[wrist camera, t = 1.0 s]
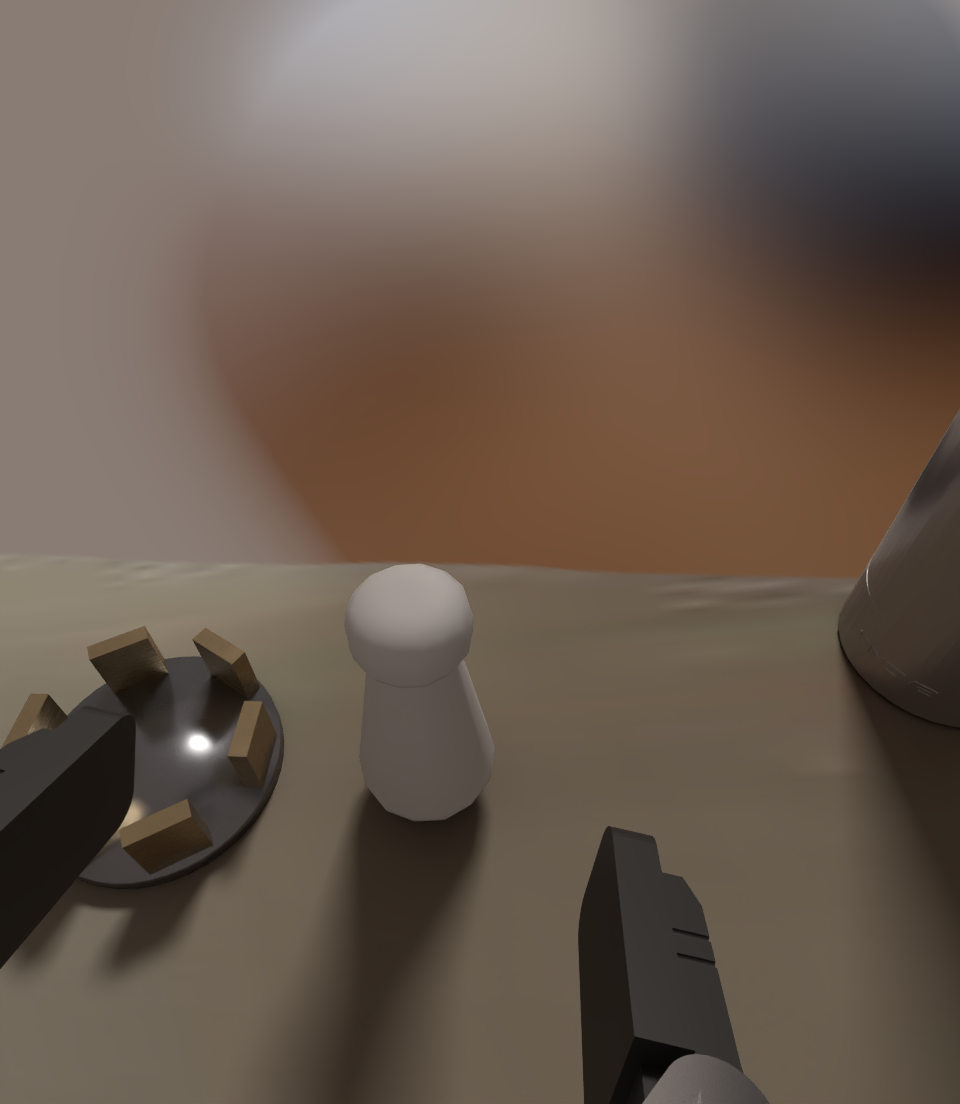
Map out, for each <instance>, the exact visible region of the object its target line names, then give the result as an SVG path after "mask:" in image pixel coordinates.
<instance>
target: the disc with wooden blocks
mask: <svg viewBox="0 0 960 1104" xmlns="http://www.w3.org/2000/svg"><path fill="white" fill-rule="evenodd" d="M192 640H193V641H194V643H195V645H196V647H197V649H198V651H199V653H200V655H201V657H178V658H170V659H164V658H163V656H162V654H161V652H160V651H159V649H158V647H157V646H156V644H155V642H154V641H153V639H152V637H151V636H150V634H149V632H148V631H147V629H146V627H145V626H143V627H141V628H138V629H135V630H132V631H130V632H127V633H124V634H121V635H119V636H116V637H113V638H111V639H108V640H105V641H102V642H100V643H97V644H94V645H91V646H89V647H87V649H88V654H89V660H90V661H91V663H92V664H93V665H94V667H95V668H96V669H97V671H98V672H99V673H100V675H101V676H102V678H103V679H104V680H105V682H106V684H104V685H103V686H101V687H100V688H98V689H97V690H95V691H94V692H93V693H92V694H90V695H89V696H88V697H87V698H85V699H84V700H83V701H82V702H81V703H80V704H79V705H78V706H77V707H75V708H74V709H73V710H72V711H71V712H70V713H69V715H68V716H67V715H66V714H65V713H64V712H63V711H62V710H61V708H60V707H59V706H58V705H57V704H56V703H55V701H54V700H53V699H52V698H51V697H50V696H49V695H48V694H30V696H29V698H28V699H27V701H26V703H25V705H24V707H23V709H22V711H21V712H20V714H19V716H18V718H17V720H16V722H15V723H14V725H13V727H12V729H11V731H10V733H9V735H8V736H7V738H6V740H5V742H4V744H3V746H2V747H1V748H3V747H4V746H5V745H7V744H8V743H10V742H13V741H15V740H17V739H19V738H22V737H24V736H26V735H29V734H31V733H33V732H35V731H38V730H40V729H42V728H44V729H49V730H54V729H56V728H57V727H58V726H59V725H60V724H62V723H63V722H64V721H65V720H66V719H68V718H69V717H70V716H71V715H72V714H74V713H75V712H76V711H77V710H79V709H80V708H81V707H84V706H93V707H97V708H102V709H106V710H110V711H115V712H119V713H123V714H128V715H131V716H133V718H134V719H135V722H136V743H135V772H134V793H133V798H132V802H131V805H130V808H129V810H128V813H127V815H126V817H125V819H124V821H123V823H122V824H121V826H120V827H119V829H118V830H117V831H116V832H115V834H114V835H113V836H112V837H111V838H110V839H109V841H108V842H107V843H106V844H105V845H104V847H103V848H102V849H101V850H100V851H99V852H98V854H97V855H96V856H95V857H94V858H93V860H92V861H91V862H90V863H89V864H88V866H87V867H86V868H85V869H84V870H83V871H82V873H81V874H80V875H79V876H78V877H77V878H79V879H81V880H83V881H85V882H87V883H91V884H94V885H98V886H101V887H108V888H116V889H133V888H142V887H149V886H155V885H158V884H162V883H165V882H169V881H172V880H175V879H177V878H180V877H182V876H184V875H187V874H189V873H191V872H193V871H195V870H197V869H199V868H200V867H202V866H204V865H206V864H208V863H209V862H210V861H212V860H213V859H215V858H216V857H218V856H219V855H221V854H222V853H223V852H224V851H226V850H227V849H228V848H229V847H230V846H231V845H233V844H234V843H235V842H236V841H237V840H238V839H239V838H240V837H241V836H242V835H243V834H244V833H245V832H246V831H247V830H248V829H249V828H250V826H251V825H252V824H253V822H254V821H255V820H256V819H257V817H258V816H259V815H260V813H261V812H262V810H263V808H264V807H265V805H266V803H267V802H268V800H269V798H270V796H271V794H272V792H273V790H274V788H275V785H276V783H277V780H278V777H279V774H280V770H281V766H282V760H283V755H284V736H283V728H282V724H281V720H280V717H279V714H278V712H277V709H276V707H275V705H274V703H273V701H272V698H271V696H270V695H269V693H268V692H267V690H266V689H265V688H264V686H263V685H262V684H261V683H260V682H259V681H258V680H257V679H256V676H255V674H254V672H253V670H252V667H251V665H250V663H249V661H248V658H247V656H246V654H245V652H244V651H242V650H241V649H239V648H237V647H236V646H234V645H232V644H231V643H229V642H228V641H226V640H224V639H223V638H221V637H219V636H218V635H216V634H215V633H213V632H211V631H210V630H208V629H206V628H205V629H204V630H202V631H201V632H200V633H199V634H198V635H197V636H196V637H195V638H194V639H192Z"/></svg>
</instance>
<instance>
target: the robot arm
mask: <svg viewBox="0 0 960 1104" xmlns="http://www.w3.org/2000/svg"><path fill="white" fill-rule="evenodd" d="M838 629H839V635H840V640H841V644H842V646H843V648H844V651H845V653H846V655H847V657H848V659H849V661H850V662H851V663H852V665H853V666H854V668H855V669H856V671H857V672H858V673H859V675H860V676H861V677H862V678H863V679H864V680H865V681H866V682H867V683H868V684H869V685H870V686H871V687H872V688H873V689H874V690H876V691H877V692H878V693H880V694H881V695H882V696H884V697H885V698H886V699H888V700H889V701H890V702H892V703H893V704H895V705H897V706H899V707H901V708H902V709H904V710H906V711H908V712H910V713H911V714H914V715H916V716H919V717H922V718H924V719H927V720H929V721H932V722H935V723H939V724H944V725H948V726H953V727H960V409H959V411H958V413H957V415H956V416H955V418H954V420H953V421H952V423H951V425H950V427H949V428H948V430H947V432H946V433H945V435H944V437H943V438H942V440H941V442H940V443H939V445H938V447H937V448H936V450H935V452H934V454H933V455H932V457H931V459H930V460H929V462H928V464H927V466H926V467H925V469H924V470H923V472H922V474H921V476H920V477H919V479H918V481H917V482H916V484H915V486H914V487H913V489H912V491H911V492H910V494H909V496H908V497H907V499H906V501H905V503H904V504H903V506H902V508H901V509H900V511H899V513H898V515H897V516H896V518H895V519H894V521H893V523H892V525H891V526H890V528H889V530H888V532H887V533H886V535H885V537H884V538H883V540H882V542H881V543H880V545H879V547H878V549H877V550H876V552H875V553H874V555H873V556H872V558H871V560H870V561H869V563H868V565H867V567H866V568H865V570H864V572H863V573H862V575H861V577H860V578H859V580H858V582H857V583H856V585H855V587H854V589H853V590H852V592H851V594H850V595H849V597H848V599H847V600H846V602H845V604H844V606H843V609H842V611H841V613H840V617H839V626H838ZM135 743H136V722H135V719H134V718H133V716H131V715H128V714H123V713H119V712H115V711H110V710H106V709H102V708H97V707H93V706H84V707H81V708H80V709H79V710H77V711H76V712H75V713H74V714H72V715H71V716H70V717H69V718H68V719H66V720H65V721H64V722H63V723H62V724H60V725H59V726H58V727H57V728H56V729H54V730H49V729H44V728H42V729H40V730H38V731H35V732H33V733H31V734H29V735H26V736H24V737H22V738H19V739H17V740H15V741H13V742H10V743H8V744H7V745H5V746H4V747H3V748H2V749H0V969H1V968H2V966H3V965H4V964H5V963H6V962H7V960H8V959H9V958H10V957H11V956H12V955H13V953H14V952H15V951H16V950H17V949H18V947H19V946H20V945H21V944H22V943H23V941H24V940H25V939H26V938H27V937H28V936H29V934H30V933H31V932H32V931H33V930H34V928H35V927H36V926H37V925H38V924H39V922H40V921H41V920H42V919H43V918H44V917H45V915H46V914H47V913H48V912H49V911H50V909H51V908H52V907H53V906H54V905H55V904H56V902H57V901H58V900H59V899H60V898H61V896H62V895H63V894H64V893H65V892H66V890H67V889H68V888H69V887H70V886H71V885H72V883H73V882H74V881H75V880H76V879H77V877H78V876H79V875H80V874H81V873H82V871H83V870H84V869H85V868H86V867H87V866H88V864H89V863H90V862H91V861H92V860H93V858H94V857H95V856H96V855H97V854H98V852H99V851H100V850H101V849H102V848H103V847H104V845H105V844H106V843H107V842H108V841H109V839H110V838H111V837H112V836H113V835H114V834H115V832H116V831H117V830H118V829H119V827H120V826H121V824H122V823H123V821H124V819H125V817H126V815H127V813H128V810H129V808H130V805H131V802H132V798H133V793H134V772H135ZM578 945H579V972H580V1000H581V1027H582V1055H583V1082H584V1104H769V1102H768V1101H767V1099H766V1098H765V1096H764V1095H763V1094H762V1092H761V1091H760V1090H759V1089H758V1088H757V1086H756V1085H755V1084H754V1083H753V1082H752V1081H751V1080H750V1079H749V1078H748V1077H747V1076H746V1075H744V1074H743V1071H742V1067H741V1064H740V1060H739V1056H738V1052H737V1048H736V1044H735V1039H734V1035H733V1031H732V1027H731V1023H730V1019H729V1015H728V1011H727V1007H726V1003H725V999H724V995H723V991H722V987H721V982H720V978H719V974H718V970H717V968H715V958H714V954H713V950H712V946H711V942H709V934H708V930H707V925H706V921H705V917H704V913H703V909H702V906H701V904H700V903H699V901H698V900H697V898H696V897H695V895H694V894H693V892H692V891H691V889H690V888H689V886H688V885H687V883H686V882H685V880H684V879H683V877H680V876H675V875H671V874H667V873H662V871H661V866H660V861H659V855H658V850H657V845H656V841H655V838H654V837H653V836H650V835H646V834H641V833H637V832H633V831H628V830H624V829H619V828H615V827H611V826H608V827H607V828H606V830H605V832H604V834H603V837H602V840H601V843H600V847H599V850H598V853H597V856H596V859H595V862H594V866H593V869H592V872H591V875H590V878H589V882H588V885H587V888H586V891H585V894H584V898H583V902H582V907H581V912H580V920H579V931H578Z"/></svg>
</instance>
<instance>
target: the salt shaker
mask: <svg viewBox="0 0 960 1104" xmlns="http://www.w3.org/2000/svg"><path fill="white" fill-rule="evenodd" d="M473 619H474V618H473V615H472V612H471V609H470V606H469V603H468V600H467V597H466V594H465V591H464V588H463V586H462V585H461V584H460V583H458V582H457V581H456V580H455V579H454V578H452V577H451V576H450V575H449V574H448V573H446V572H445V571H443V570H439V569H436V568H433V567H430V566H427V565H423V564H409V565H395V566H392V567H390V568H387V569H385V570H382V571H380V572H377V573H375V574H373V575H370V576H369V577H368V578H367V579H366V580H365V581H364V582H363V583H362V584H361V585H360V586H359V587H358V588H357V589H356V590H355V591H354V592H353V594H352V596H351V599H350V602H349V604H348V607H347V610H346V612H345V630H346V634H347V639H348V643H349V648H350V651H351V653H352V656H353V659H354V660H355V661H356V662H357V663H358V664H359V665H360V666H361V667H362V669H363V670H364V671H365V672H366V682H365V694H364V707H363V719H362V732H361V744H360V756H359V757H360V762H361V767H362V771H363V776H364V780H365V785H366V786H367V787H368V788H369V790H370V791H371V792H372V793H373V795H374V796H375V797H376V798H377V800H378V801H379V802H380V803H381V805H382V806H383V807H384V808H385V810H386V811H388V812H391V813H394V814H396V815H399V816H401V817H404V818H407V819H409V820H412V821H431V820H445V819H447V818H449V817H451V816H452V815H454V814H456V813H457V812H459V811H461V810H463V809H464V808H466V807H468V806H470V805H471V804H472V803H473V802H474V800H475V799H476V798H477V796H478V795H479V794H480V792H481V791H482V790H483V788H484V787H485V786H486V784H487V783H488V782H489V779H490V777H491V770H492V763H493V756H494V749H495V747H494V744H493V741H492V738H491V735H490V732H489V729H488V726H487V723H486V720H485V717H484V715H483V712H482V709H481V706H480V704H479V701H478V698H477V695H476V692H475V690H474V687H473V684H472V681H471V678H470V676H469V673H468V670H467V667H466V665H465V662H464V658H465V657H466V655H467V654H468V652H469V647H470V642H471V636H472V631H473Z"/></svg>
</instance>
